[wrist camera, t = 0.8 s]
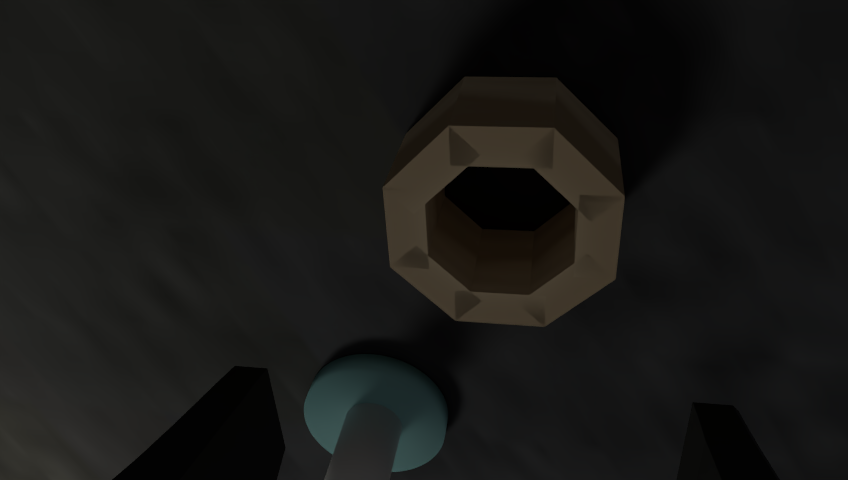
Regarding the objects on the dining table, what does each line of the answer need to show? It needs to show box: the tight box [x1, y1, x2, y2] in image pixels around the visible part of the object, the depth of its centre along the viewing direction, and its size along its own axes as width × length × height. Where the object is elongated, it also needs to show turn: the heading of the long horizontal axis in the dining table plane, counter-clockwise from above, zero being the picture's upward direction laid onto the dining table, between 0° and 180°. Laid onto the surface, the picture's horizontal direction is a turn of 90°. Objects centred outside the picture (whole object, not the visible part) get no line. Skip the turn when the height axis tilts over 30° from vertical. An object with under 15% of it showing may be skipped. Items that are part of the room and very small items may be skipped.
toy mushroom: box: [304, 354, 448, 480], centre depth 24 cm, size 5×5×5 cm
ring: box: [383, 77, 625, 327], centre depth 19 cm, size 6×6×3 cm
